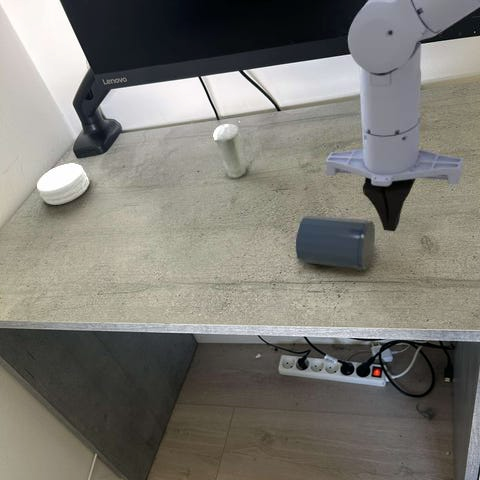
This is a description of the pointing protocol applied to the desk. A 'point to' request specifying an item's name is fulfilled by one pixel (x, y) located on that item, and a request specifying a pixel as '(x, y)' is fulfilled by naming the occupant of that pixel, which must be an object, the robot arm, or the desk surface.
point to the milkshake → (230, 149)
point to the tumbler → (335, 242)
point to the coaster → (63, 184)
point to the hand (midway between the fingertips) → (391, 225)
